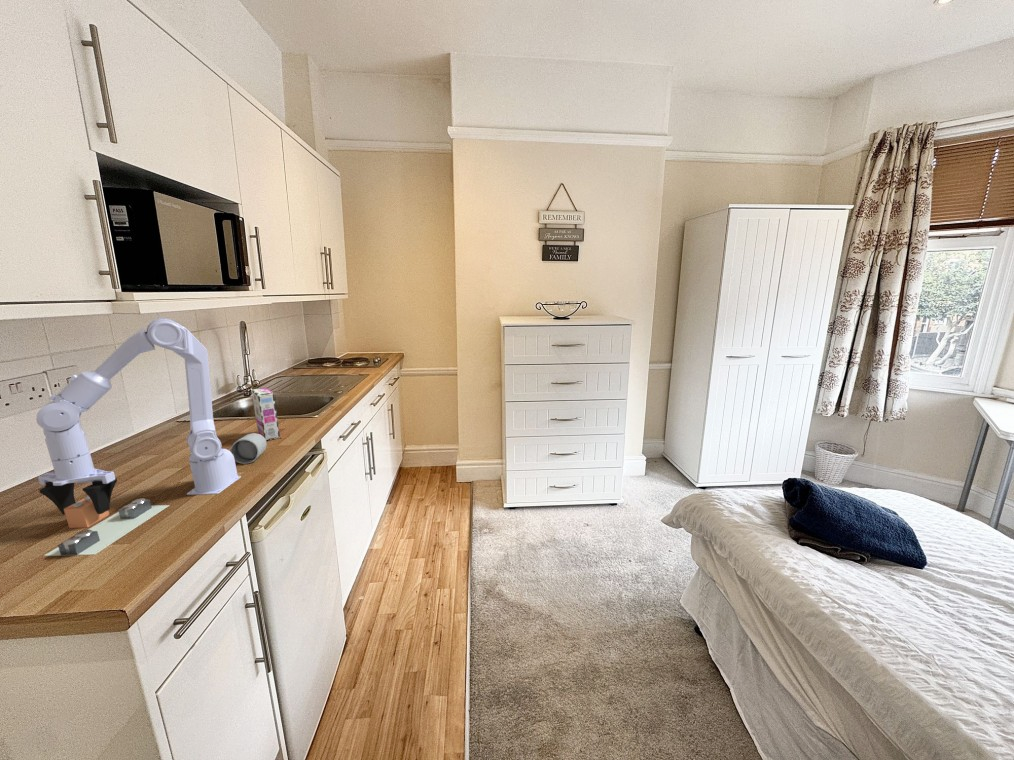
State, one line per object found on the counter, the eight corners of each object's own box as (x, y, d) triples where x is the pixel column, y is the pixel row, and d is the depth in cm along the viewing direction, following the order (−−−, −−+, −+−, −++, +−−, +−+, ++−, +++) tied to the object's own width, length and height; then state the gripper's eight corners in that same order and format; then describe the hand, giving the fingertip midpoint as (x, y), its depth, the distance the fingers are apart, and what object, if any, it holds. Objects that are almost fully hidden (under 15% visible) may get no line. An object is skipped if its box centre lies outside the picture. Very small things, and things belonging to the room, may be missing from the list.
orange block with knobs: (92, 516, 92) (86, 494, 91) (110, 516, 92) (104, 494, 91) (69, 529, 87) (62, 506, 86) (88, 529, 87) (81, 506, 86)
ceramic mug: (270, 451, 127) (265, 429, 125) (260, 462, 119) (255, 438, 118) (233, 456, 125) (228, 432, 123) (220, 467, 117) (215, 442, 116)
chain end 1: (84, 540, 83) (81, 530, 82) (100, 540, 83) (97, 529, 82) (60, 555, 78) (57, 544, 77) (77, 554, 78) (73, 543, 77)
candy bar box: (281, 437, 139) (274, 392, 135) (265, 441, 136) (257, 395, 132) (273, 430, 147) (266, 386, 143) (257, 433, 144) (250, 389, 140)
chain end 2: (138, 508, 95) (136, 498, 94) (152, 507, 95) (149, 498, 94) (120, 519, 90) (117, 509, 90) (134, 518, 90) (131, 508, 90)
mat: (128, 507, 96) (127, 506, 96) (170, 506, 96) (169, 505, 96) (44, 557, 78) (43, 555, 78) (95, 556, 78) (94, 554, 78)
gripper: (14, 463, 82) (33, 522, 85) (85, 462, 82) (101, 521, 85) (52, 450, 89) (68, 505, 92) (117, 449, 89) (131, 504, 92)
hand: (86, 512), depth 89 cm, fingers open, 7 cm apart
